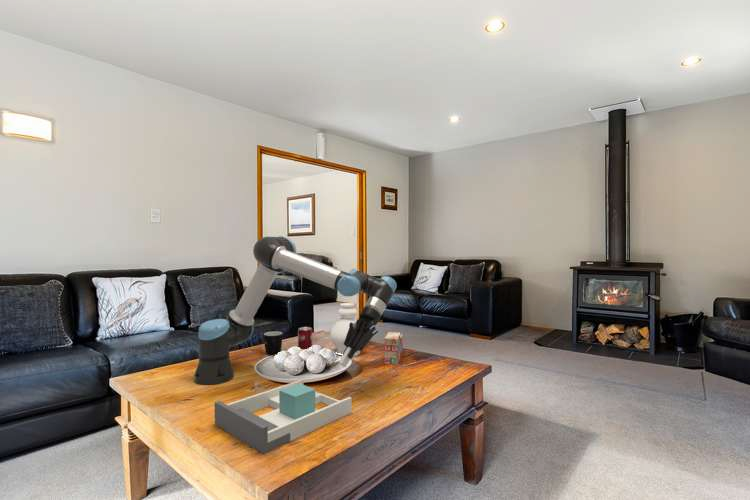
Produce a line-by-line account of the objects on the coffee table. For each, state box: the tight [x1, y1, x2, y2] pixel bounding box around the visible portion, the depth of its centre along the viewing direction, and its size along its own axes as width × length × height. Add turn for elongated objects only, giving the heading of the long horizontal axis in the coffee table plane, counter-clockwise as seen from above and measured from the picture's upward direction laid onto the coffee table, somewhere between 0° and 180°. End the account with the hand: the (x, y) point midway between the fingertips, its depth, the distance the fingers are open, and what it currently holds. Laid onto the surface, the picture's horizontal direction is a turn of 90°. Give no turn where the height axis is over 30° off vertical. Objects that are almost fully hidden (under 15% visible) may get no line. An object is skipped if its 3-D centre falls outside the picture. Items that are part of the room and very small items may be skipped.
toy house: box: [383, 331, 404, 366], centre depth 194 cm, size 21×6×12 cm, turn 169°
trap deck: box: [214, 379, 353, 455], centre depth 127 cm, size 34×26×7 cm
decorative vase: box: [329, 302, 361, 357], centre depth 201 cm, size 18×18×25 cm
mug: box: [263, 331, 283, 356], centre depth 199 cm, size 12×9×10 cm
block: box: [279, 384, 316, 420], centre depth 127 cm, size 8×8×7 cm
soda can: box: [297, 326, 313, 349], centre depth 203 cm, size 7×7×12 cm
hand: (342, 365), depth 140 cm, fingers closed
